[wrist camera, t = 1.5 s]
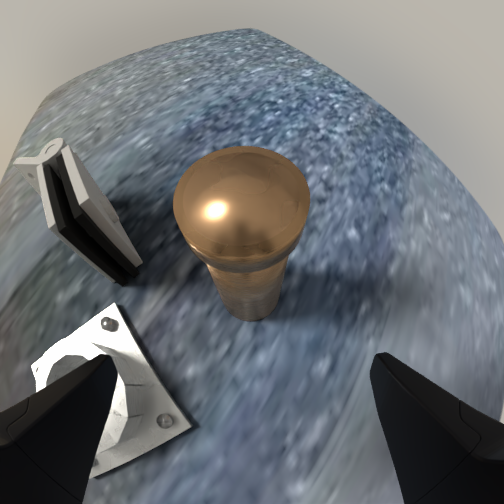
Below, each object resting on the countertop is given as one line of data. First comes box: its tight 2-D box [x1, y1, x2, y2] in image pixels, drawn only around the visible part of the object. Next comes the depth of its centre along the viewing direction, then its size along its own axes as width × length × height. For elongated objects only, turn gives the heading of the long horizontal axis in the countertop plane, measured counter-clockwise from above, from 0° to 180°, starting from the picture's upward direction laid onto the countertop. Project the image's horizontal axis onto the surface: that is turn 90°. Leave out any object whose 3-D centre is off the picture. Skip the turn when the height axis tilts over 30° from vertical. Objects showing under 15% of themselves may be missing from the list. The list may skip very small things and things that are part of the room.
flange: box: [31, 303, 193, 479], centre depth 17 cm, size 12×12×4 cm
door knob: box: [173, 146, 310, 321], centre depth 17 cm, size 5×5×13 cm
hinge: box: [13, 138, 143, 287], centre depth 21 cm, size 14×5×10 cm, turn 51°
